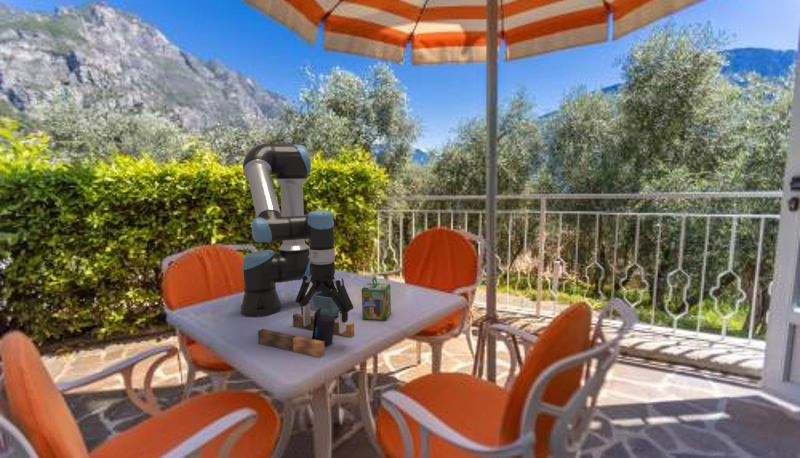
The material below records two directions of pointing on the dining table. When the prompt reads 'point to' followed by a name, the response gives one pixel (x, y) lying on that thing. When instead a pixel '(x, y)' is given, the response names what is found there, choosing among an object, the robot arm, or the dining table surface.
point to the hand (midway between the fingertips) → (324, 328)
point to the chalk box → (376, 301)
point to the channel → (300, 338)
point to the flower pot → (325, 304)
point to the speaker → (323, 328)
